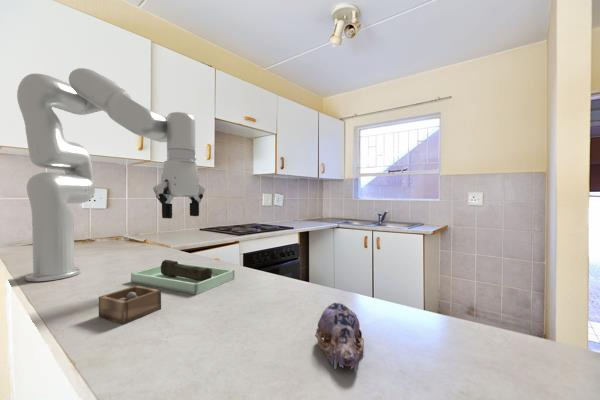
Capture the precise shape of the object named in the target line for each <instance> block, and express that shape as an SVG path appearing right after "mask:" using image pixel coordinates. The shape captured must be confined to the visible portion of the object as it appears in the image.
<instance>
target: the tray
mask: <svg viewBox="0 0 600 400" xmlns="http://www.w3.org/2000/svg"><path fill="white" fill-rule="evenodd" d="M178 264H180V265H184V266H191V267H200V268H204V269H206V268H210V269H211V270H212V276H211V278H210V279H207V280H204V281H202V282H201V281H197V280H193V279H188V278H184V277H178V276H175V277H168V276H165V275H163V274H162V273H161V265H158V266H154V267H150V268H147V269H143V270H140V271H135V272H130V282H131V283H133V284H134V283H135V284H138V285H144V286H147V287H148V286H149V287H153V288H159V289H165V290H170V291H176V292H180V293H185V294H186V293H187V294H190V295H199V294H201V293H205V292H207V291H208V290H211V289H213V288H216V287H218V286H221V285H223V284H225V282H226V283H228V282H230V281H232V280H234V279H235V270H234V269H226V268H221V267H219V268H218V267H214V266H213V267H212V266H204V265H199V264H198V265H197V264H191V263H190V264H189V263H183V262H182V263H181V262H178Z"/></svg>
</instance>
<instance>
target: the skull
mask: <svg viewBox="0 0 600 400" xmlns="http://www.w3.org/2000/svg"><path fill="white" fill-rule="evenodd" d="M317 322H318V323H317V328H316V332H315V334H314V336H315V337H316V339H317V344H318V347H319V348H320V350H322V352H324V354H325V356H326V359H327V360H328V361H329V362H330V363H331V365H333V368H334V370H336V369H337V366H338V364H339V367H341V368H344V366H345V367H350V369H354V373H356V372H357V368H358V363H359V359H360V357H359V356H360V355H361V354H362V353H363V352H364V347H365V340H364V338H363V335H362V334H363V333H362V331H361V329H360V321H359V319H358V316H357V314H356V313H355V312H353V311H352V310H351V309H350V308H349V307H347V306H346V305H345V304H344V303H341V302H333V303H331V304H329V305H328V306H327V307H326V308H324V310H323V312H322V314H321V316H320V317H319V319H318V321H317ZM357 344H359V347H358V345H357Z"/></svg>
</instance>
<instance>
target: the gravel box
mask: <svg viewBox="0 0 600 400" xmlns="http://www.w3.org/2000/svg"><path fill="white" fill-rule="evenodd" d="M159 310H162V290H160V289H156V288H151V287H148V286H147V287H146V286H140V285H134V286H130V287H127V288H123V289H120V290H117V291H114V292H110V293H107V294H104V295H100V296H98V318H102V319H105V320H108V321H113V322H115V323H119V324H122V325H126V324H128V323H130V322H131V323H132V322H133V321H136V320H138V319H140V318H143V317H146V316H148V315H149V314H152V313H154V312H157V311H159Z"/></svg>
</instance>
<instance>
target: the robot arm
mask: <svg viewBox="0 0 600 400" xmlns="http://www.w3.org/2000/svg"><path fill="white" fill-rule="evenodd" d="M16 92H17V93H16V94H17V95H16V98H17V102H18V107H19V111H20V112H21V115H22V118H23V122H24V125H25V128H24V129H25V135H26V141H27V142H26V143H27V149H28V155H29V159H30V161H31V163H32V164H33V165H35V166H37V167H38V168H43V169H48V170H59V171H64V173H62V172H52V171H51V172H50V171H49V172H48V171H47V172H39V173H37V174H34V175H32V176H31V177H30V178H29V179H28V181H27V184H26V192H27V196H28V200H29V204H30V208H31V210H30V211H31V224H32V225H31V226H32V228H31V230H32V272H31V273H28V274H27V275H26V276H25V280H26V281H28V282H48V281H57V280H61V279H66V278H70V277H71V278H72V277H73V276H77V275H79V274H81V268H80V267H79V266H75V225H74V224H75V223H74V215H73V212H72V209H70V207H69V206H68V204H83V203H87V202H89V201H90V200H92V198H93V197H94V196H95V195H94V194H95V191H96V187H95V186H96V183H95V178H94V171H93V170H94V169H93V165H92V164H93V162H92V158H91V154H90V153H89V151H88V150H87V149H86V147H84V146H83V145H81V144H80V143H77V142H73V141H67V140H66V138H65V135H64V131H63V129H64V128H63V125H62V122H61V120H60V118H59V116H58V115H57V114H56V113H55V111H54V110H53V108H55V109H58V110H61V111H64V112H68V113H70V114H74V115H78V116H81V115H82V116H85V115H90V114H95V113H98V112H101V111H103V112H104V113H106V114H107V116H108V117H109V118H110V119H111V120H112V121H114V122H115V123H116V124H118V125H119V126H122V127H123V128H125V129H126V130H128V131H129V132H131V133H132V134H135V135H136V136H140V137H142V138H147V139H150V140H152V141H155V142H158V143H166V160H164V162H163V165H162V169H161V176H160V177H161V178H160V183H158V184H156V185H154V186H153V187H152V190H153V193H154V194H155V197H156V199H157V200H158V201H159V203H160V204H161V218H162V219H170V220H171V219H172V218H173V204H172V200H174V198H177V197H178V198H179V197H182V198H183V197H184V198H185V197H187V198H188V199H189V201H190V203H189V217H199V216H200V203H201V202H202V200H203V197H204V193H205V191H206V189H205V188H204V187H203V186H202V185H200V183H199V182H200V181H199V171H198V165H197V163H196V160H197V156H196V119H195V117H194V116H193V115H191V114H189V113H186V112H181V111H176V112H175V111H173V112H170V113H168V115H167V116H165V115H161V114H159V113H158V112H156V111H153V110H151V109H149V108H147V107H145V106H143V105H141V104H139V103H138V102H137V101H135V100H133V99H132V97H131V95H130V93H129V92H128V91H127V90H125V89H123V88H122V87H120V85H118V83H116V82H115V81H113V80H111V79H109V78H108V77H106V76H104V75H102V74H100V73H98V72H96V71H94V70H92V69H89V68H85V67H83V68H82V67H81V68H79V67H78V68H76V69H73V70H72V71H71V72H70V73H69V75H68V83H67V82H66V81H63V80H61V79H58V78H57V77H53V76H50V75H48V74H45V73H36V72H35V73H30V74H27V75H26V76H24V77H23V78H22V79H21V81H20V82H19V84H18V86H17V91H16Z"/></svg>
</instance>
